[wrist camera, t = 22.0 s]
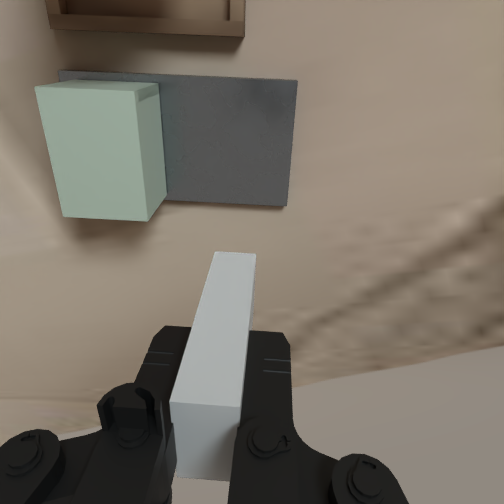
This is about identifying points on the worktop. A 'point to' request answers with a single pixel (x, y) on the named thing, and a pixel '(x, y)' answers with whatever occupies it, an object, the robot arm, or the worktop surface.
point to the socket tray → (150, 16)
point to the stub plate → (220, 135)
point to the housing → (105, 147)
